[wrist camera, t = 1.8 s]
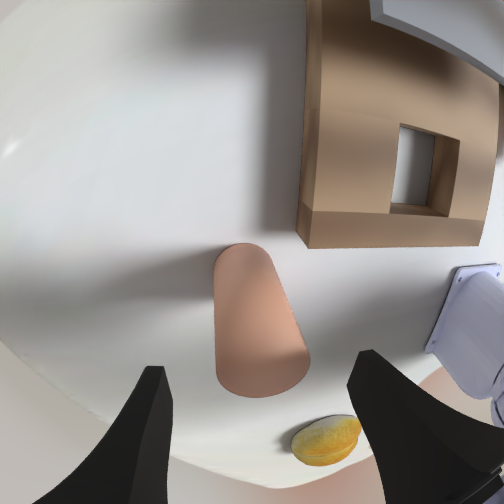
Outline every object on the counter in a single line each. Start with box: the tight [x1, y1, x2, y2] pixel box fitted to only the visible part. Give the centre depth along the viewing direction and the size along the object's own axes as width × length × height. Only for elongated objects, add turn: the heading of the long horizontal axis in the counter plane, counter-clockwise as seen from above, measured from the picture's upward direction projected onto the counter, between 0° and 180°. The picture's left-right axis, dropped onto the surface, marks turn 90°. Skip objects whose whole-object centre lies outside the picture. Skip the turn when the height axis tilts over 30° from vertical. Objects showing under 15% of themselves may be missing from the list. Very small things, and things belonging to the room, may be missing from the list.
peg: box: [214, 243, 310, 398], centre depth 14 cm, size 4×4×8 cm
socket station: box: [296, 0, 504, 249], centre depth 11 cm, size 15×14×8 cm
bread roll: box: [291, 415, 362, 466], centre depth 26 cm, size 8×9×4 cm
